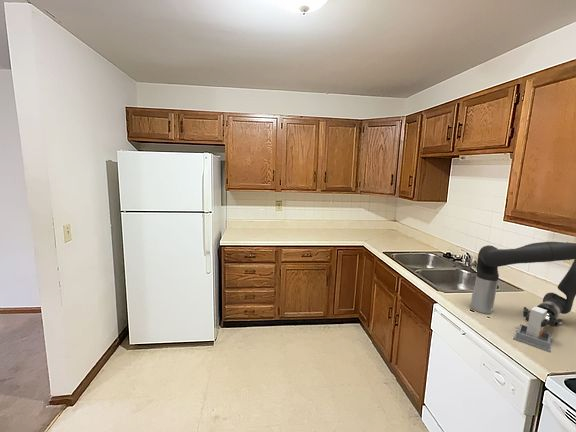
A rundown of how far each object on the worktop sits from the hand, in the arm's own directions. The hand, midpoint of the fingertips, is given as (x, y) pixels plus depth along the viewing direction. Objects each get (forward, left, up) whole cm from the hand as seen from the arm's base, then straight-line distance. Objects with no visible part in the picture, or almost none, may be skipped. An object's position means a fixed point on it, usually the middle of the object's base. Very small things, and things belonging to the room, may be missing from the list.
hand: (535, 322), depth 125 cm
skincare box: (0, +3, -7) cm, 8 cm away
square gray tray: (0, +3, -9) cm, 10 cm away
